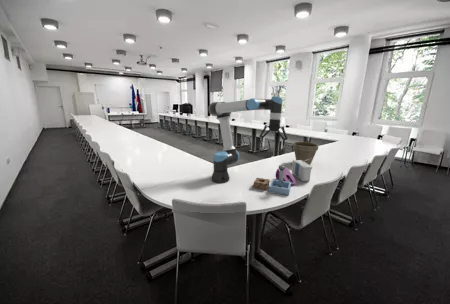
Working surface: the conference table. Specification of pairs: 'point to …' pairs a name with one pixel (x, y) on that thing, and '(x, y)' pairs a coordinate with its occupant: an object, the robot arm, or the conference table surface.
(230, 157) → the robot arm
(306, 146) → the plant pot
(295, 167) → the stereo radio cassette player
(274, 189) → the parts tray
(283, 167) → the steel pin
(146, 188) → the conference table surface
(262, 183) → the block
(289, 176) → the mounting bracket
